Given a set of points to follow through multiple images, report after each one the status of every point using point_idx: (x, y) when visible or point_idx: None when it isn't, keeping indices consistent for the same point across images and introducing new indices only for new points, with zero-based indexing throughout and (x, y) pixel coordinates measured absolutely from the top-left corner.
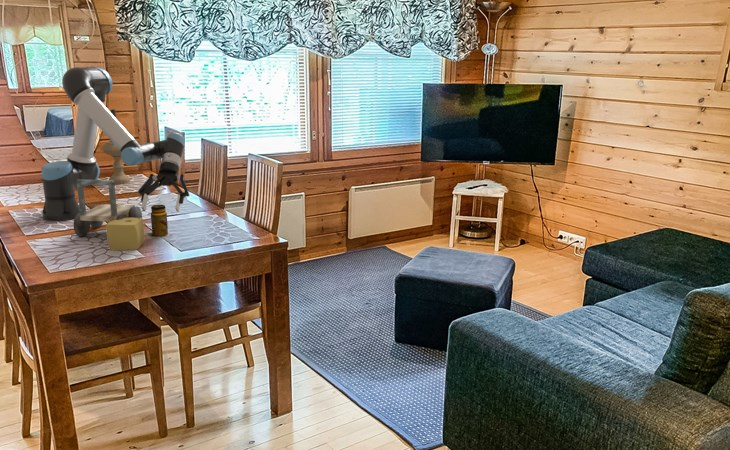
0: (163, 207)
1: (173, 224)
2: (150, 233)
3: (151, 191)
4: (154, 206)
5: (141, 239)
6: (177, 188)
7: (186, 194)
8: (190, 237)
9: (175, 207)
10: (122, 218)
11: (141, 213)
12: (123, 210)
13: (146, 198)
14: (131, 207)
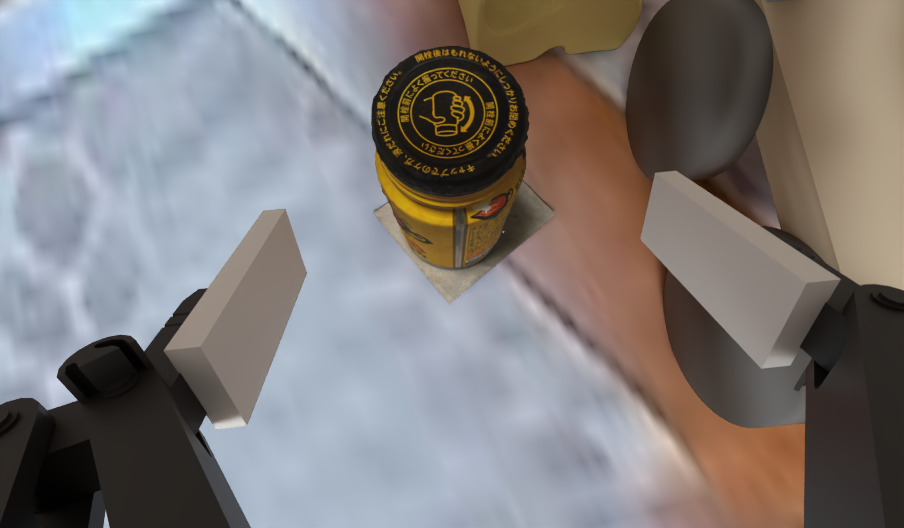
0: (375, 99)
1: (474, 488)
2: (521, 225)
3: (816, 447)
4: (484, 89)
5: (467, 12)
6: (171, 495)
7: (52, 417)
8: (241, 207)
9: (279, 212)
10: (698, 10)
11: (750, 422)
12: (836, 165)
13: (740, 282)
14: None
